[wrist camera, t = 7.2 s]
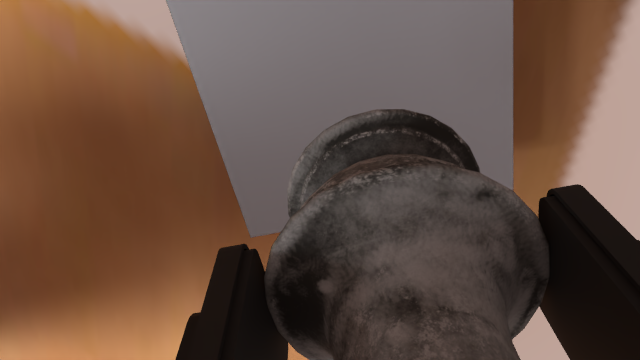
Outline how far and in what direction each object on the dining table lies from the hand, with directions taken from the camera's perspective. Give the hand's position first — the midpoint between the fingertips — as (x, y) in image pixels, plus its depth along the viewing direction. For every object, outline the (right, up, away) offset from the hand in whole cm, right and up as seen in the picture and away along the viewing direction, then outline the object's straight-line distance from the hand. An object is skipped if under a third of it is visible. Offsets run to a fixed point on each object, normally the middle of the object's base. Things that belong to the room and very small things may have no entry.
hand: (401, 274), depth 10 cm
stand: (0, +8, +14) cm, 16 cm away
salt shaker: (0, +2, +3) cm, 3 cm away
